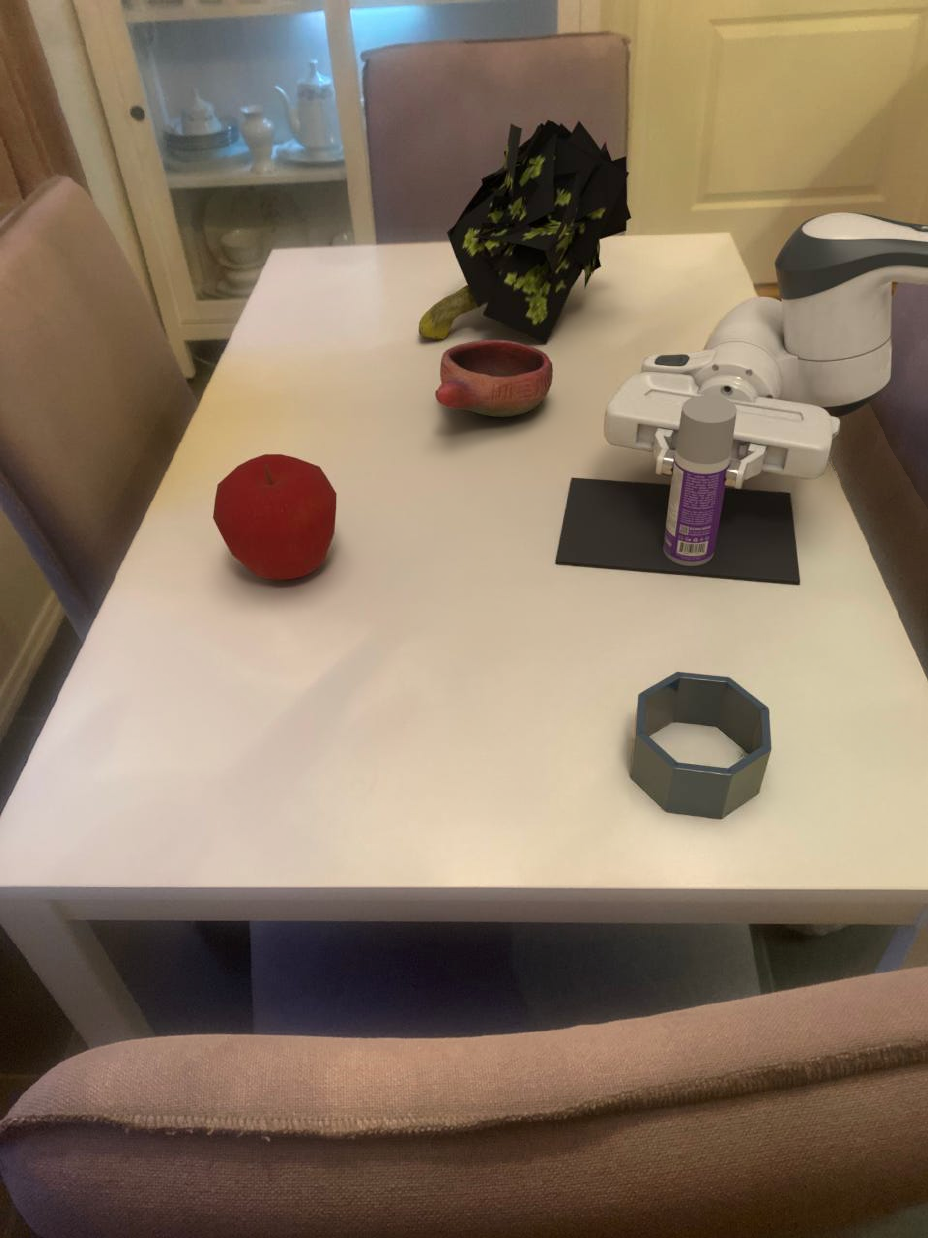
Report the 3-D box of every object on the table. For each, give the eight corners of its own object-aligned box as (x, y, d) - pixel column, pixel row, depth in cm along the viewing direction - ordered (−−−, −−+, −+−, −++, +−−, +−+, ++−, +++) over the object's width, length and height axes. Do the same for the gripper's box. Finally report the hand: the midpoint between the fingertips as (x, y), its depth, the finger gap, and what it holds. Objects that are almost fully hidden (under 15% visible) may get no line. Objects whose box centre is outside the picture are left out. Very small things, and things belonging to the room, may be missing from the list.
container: (723, 548, 86) (749, 406, 76) (695, 572, 83) (718, 429, 73) (681, 528, 88) (700, 388, 78) (653, 552, 86) (669, 410, 76)
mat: (789, 495, 92) (790, 492, 92) (799, 585, 82) (800, 581, 82) (571, 480, 96) (571, 477, 96) (555, 564, 86) (555, 560, 86)
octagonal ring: (755, 725, 70) (767, 680, 67) (760, 824, 64) (773, 780, 60) (635, 711, 72) (640, 667, 69) (627, 807, 65) (633, 763, 62)
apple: (225, 610, 83) (194, 505, 75) (237, 538, 91) (210, 437, 83) (346, 599, 84) (327, 493, 76) (347, 529, 91) (331, 427, 84)
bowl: (448, 382, 113) (444, 320, 107) (552, 382, 112) (554, 319, 106) (434, 453, 101) (429, 388, 96) (551, 454, 100) (552, 388, 94)
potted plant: (459, 383, 115) (587, 153, 98) (371, 280, 125) (473, 53, 107) (566, 391, 130) (693, 193, 113) (480, 299, 140) (585, 103, 122)
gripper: (835, 444, 87) (815, 527, 78) (626, 410, 94) (584, 483, 85) (850, 384, 83) (831, 465, 74) (630, 352, 89) (587, 423, 80)
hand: (697, 474), depth 79 cm, fingers closed on container, 4 cm apart
